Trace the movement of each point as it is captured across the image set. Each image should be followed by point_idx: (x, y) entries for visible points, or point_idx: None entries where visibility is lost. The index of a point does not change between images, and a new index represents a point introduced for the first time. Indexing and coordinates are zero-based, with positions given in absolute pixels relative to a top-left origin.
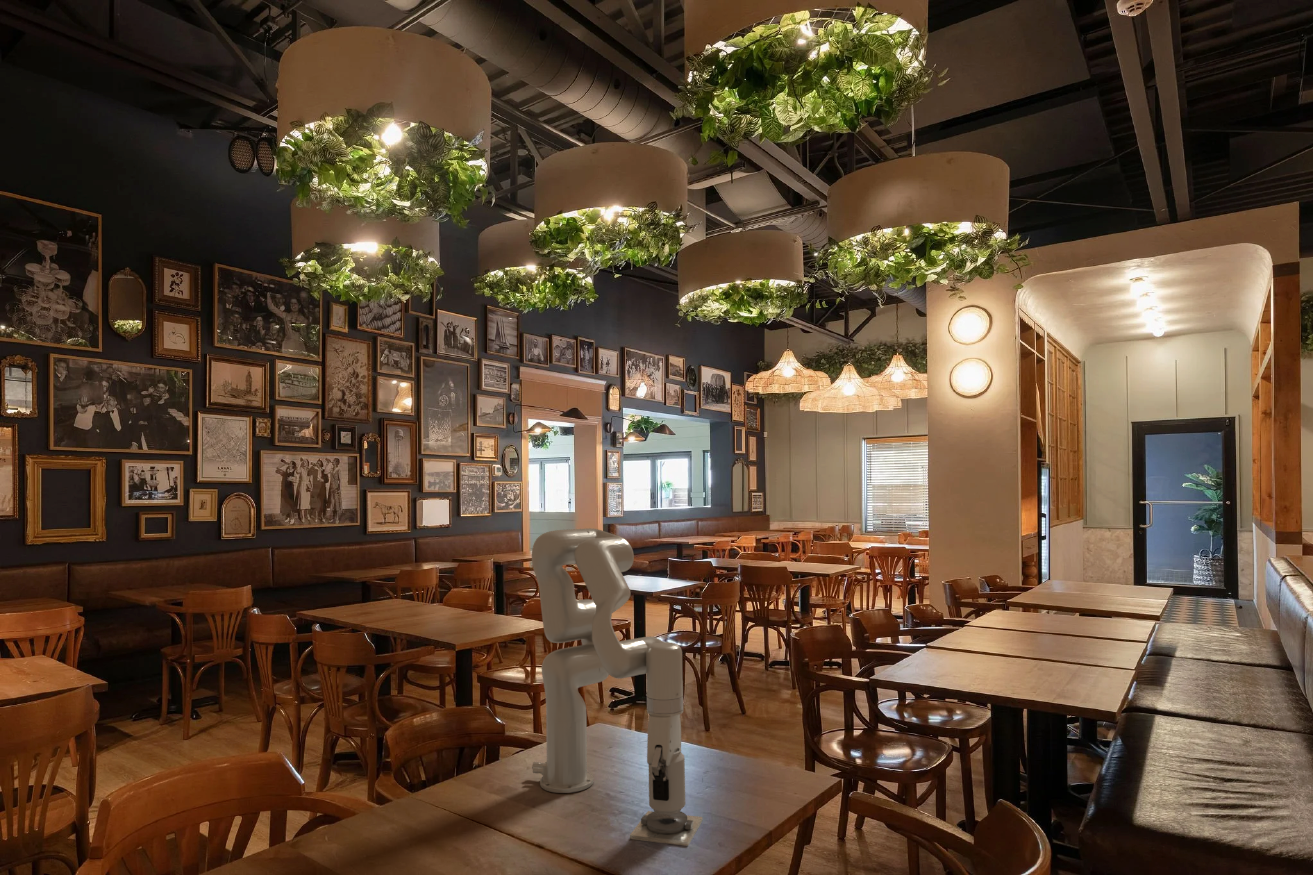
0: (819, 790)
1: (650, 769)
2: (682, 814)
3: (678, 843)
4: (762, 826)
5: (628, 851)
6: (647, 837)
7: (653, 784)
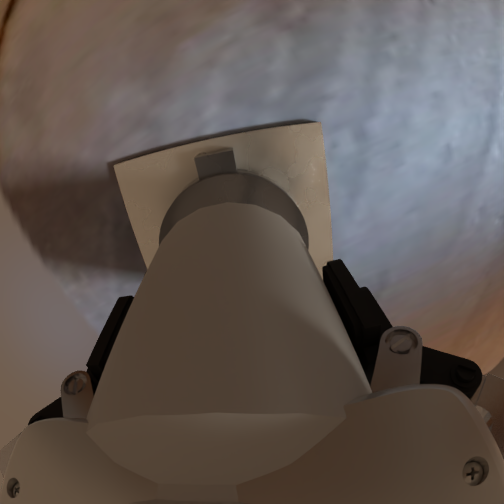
0: None
1: (103, 373)
2: None
3: None
4: None
5: (63, 204)
6: (131, 221)
7: (98, 345)
